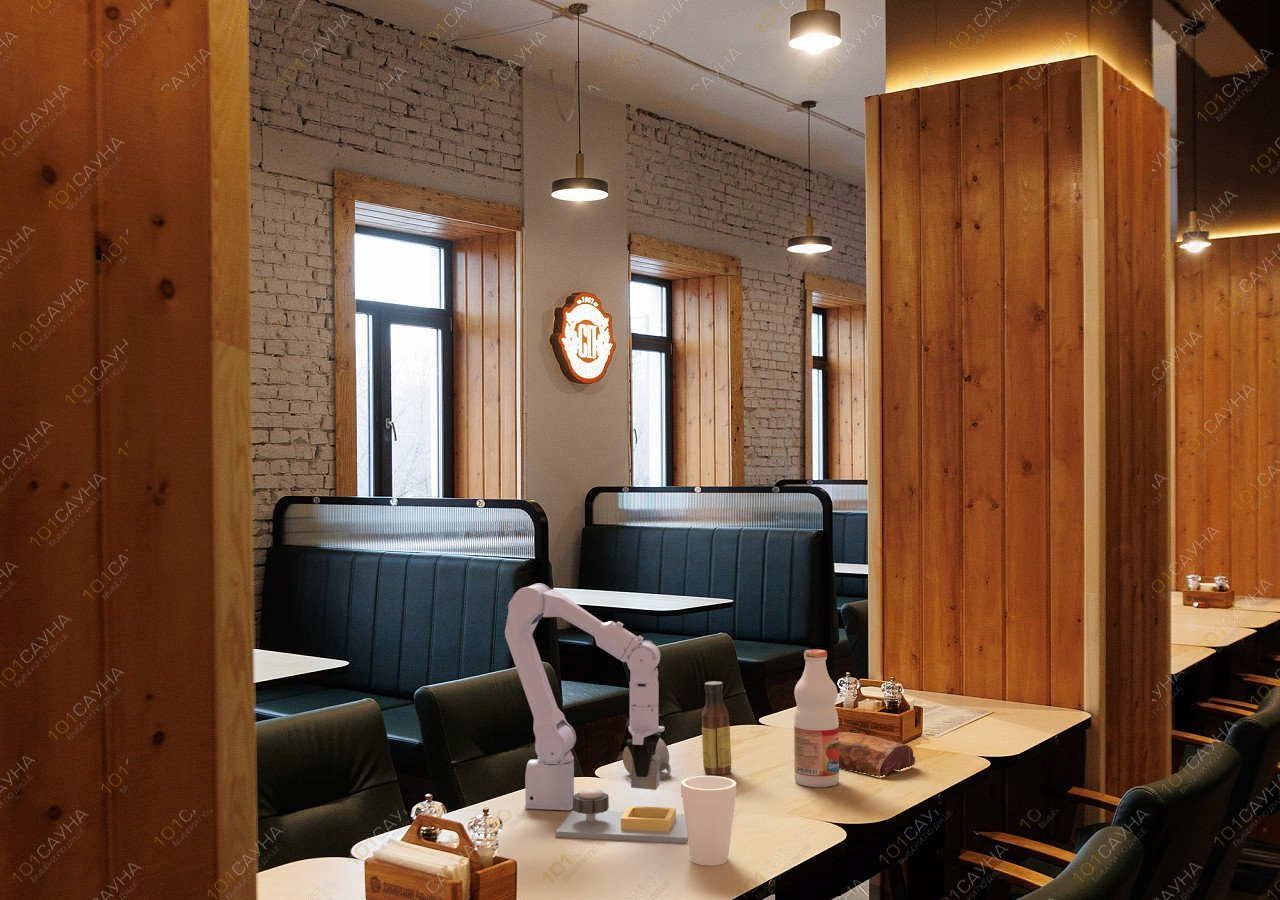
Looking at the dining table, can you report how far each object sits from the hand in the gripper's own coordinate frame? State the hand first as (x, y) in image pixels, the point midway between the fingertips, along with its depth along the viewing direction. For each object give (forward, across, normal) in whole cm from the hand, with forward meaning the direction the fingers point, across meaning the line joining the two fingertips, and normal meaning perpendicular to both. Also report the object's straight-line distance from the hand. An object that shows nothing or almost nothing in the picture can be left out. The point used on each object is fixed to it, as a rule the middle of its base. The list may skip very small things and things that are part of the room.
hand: (643, 773), depth 227 cm
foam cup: (+7, -28, -16) cm, 33 cm away
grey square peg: (+2, 0, 0) cm, 2 cm away
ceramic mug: (+7, +26, +3) cm, 28 cm away
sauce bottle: (+7, +30, -11) cm, 33 cm away
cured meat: (+7, +45, -42) cm, 62 cm away
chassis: (+7, -13, +1) cm, 15 cm away
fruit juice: (+7, +25, -33) cm, 42 cm away
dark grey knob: (+4, -13, +8) cm, 16 cm away
